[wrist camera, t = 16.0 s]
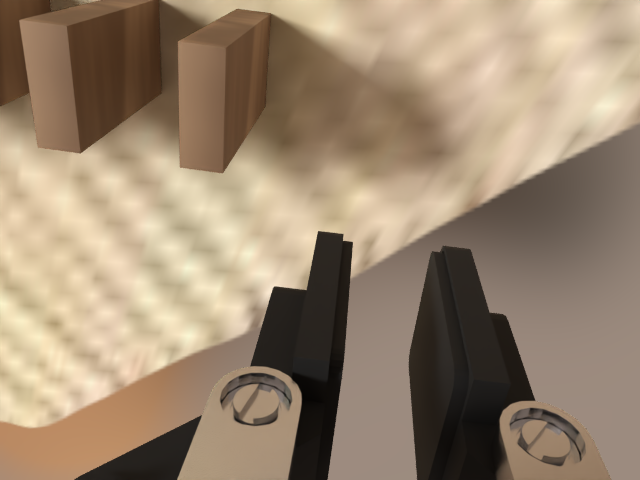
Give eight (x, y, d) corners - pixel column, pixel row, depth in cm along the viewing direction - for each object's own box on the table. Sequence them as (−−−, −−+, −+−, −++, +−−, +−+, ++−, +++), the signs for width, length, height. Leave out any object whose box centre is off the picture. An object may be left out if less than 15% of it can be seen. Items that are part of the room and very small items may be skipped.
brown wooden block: (233, 102, 32) (179, 167, 23) (237, 8, 29) (177, 41, 20) (265, 106, 32) (222, 173, 23) (271, 13, 29) (226, 47, 20)
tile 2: (130, 88, 32) (37, 147, 23) (125, -6, 29) (19, 19, 21) (161, 93, 32) (80, 153, 23) (158, -2, 29) (66, 25, 21)
